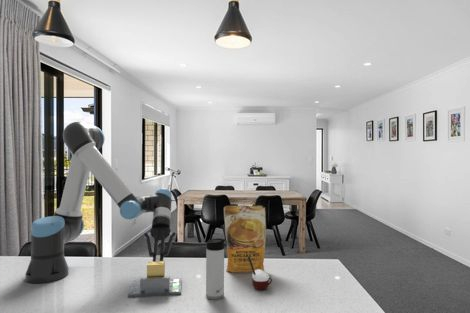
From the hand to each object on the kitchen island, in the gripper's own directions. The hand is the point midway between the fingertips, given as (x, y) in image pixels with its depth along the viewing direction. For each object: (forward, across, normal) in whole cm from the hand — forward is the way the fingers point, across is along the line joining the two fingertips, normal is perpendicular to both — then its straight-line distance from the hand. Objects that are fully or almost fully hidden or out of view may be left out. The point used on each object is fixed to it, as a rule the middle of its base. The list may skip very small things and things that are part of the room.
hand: (157, 272), depth 121 cm
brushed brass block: (+6, -2, +1) cm, 7 cm away
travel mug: (+12, -21, +5) cm, 25 cm away
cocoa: (+9, -38, +1) cm, 39 cm away
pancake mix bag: (-5, -36, -13) cm, 39 cm away
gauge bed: (+6, 0, -2) cm, 6 cm away
